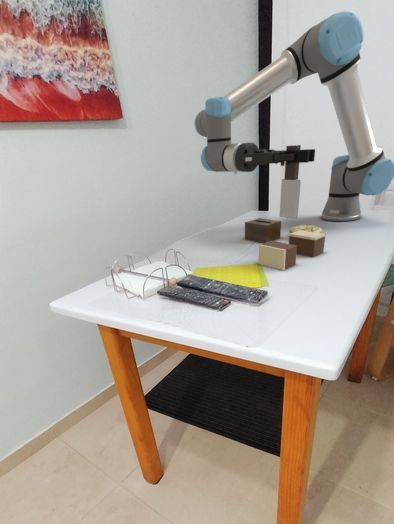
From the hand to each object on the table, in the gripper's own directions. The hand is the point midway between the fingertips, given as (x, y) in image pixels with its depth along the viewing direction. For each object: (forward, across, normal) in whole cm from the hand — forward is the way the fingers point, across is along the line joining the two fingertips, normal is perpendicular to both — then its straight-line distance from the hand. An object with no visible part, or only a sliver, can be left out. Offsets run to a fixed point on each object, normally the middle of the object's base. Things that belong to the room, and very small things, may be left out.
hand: (311, 155), depth 86 cm
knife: (-6, 0, -16) cm, 16 cm away
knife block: (-25, -12, -27) cm, 39 cm away
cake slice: (-3, +5, -24) cm, 25 cm away
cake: (-3, -7, -27) cm, 28 cm away
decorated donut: (-13, -21, -27) cm, 37 cm away
